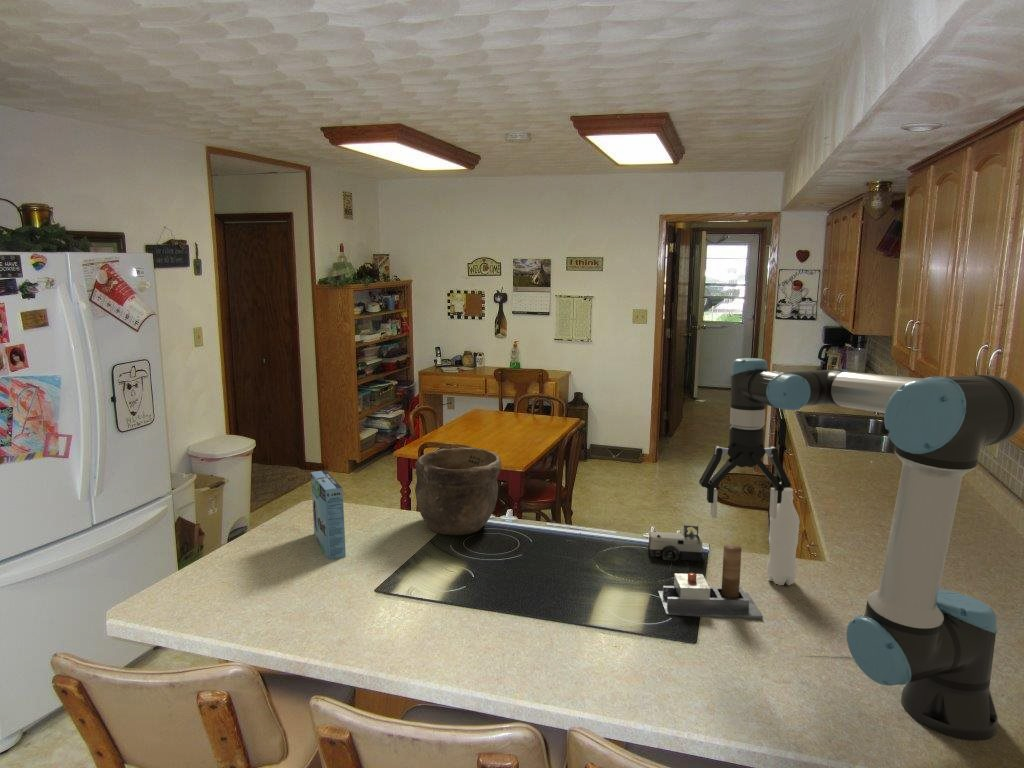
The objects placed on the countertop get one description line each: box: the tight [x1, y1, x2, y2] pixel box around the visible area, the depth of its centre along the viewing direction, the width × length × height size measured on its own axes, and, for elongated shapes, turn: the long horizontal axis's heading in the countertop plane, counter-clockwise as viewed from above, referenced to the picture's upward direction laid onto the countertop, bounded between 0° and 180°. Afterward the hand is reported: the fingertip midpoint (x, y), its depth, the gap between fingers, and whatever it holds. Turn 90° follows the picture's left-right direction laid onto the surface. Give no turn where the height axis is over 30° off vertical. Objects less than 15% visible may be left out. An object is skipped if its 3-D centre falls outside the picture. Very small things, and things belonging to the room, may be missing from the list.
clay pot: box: [414, 447, 502, 536], centre depth 212 cm, size 26×26×25 cm
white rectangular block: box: [673, 572, 711, 600], centre depth 168 cm, size 8×7×4 cm
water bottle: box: [766, 487, 801, 586], centre depth 181 cm, size 7×7×25 cm
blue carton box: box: [310, 470, 347, 560], centre depth 195 cm, size 20×5×23 cm, turn 26°
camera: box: [647, 524, 704, 562], centre depth 196 cm, size 15×8×10 cm, turn 79°
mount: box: [658, 585, 764, 621], centre depth 169 cm, size 12×22×4 cm, turn 88°
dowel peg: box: [721, 543, 742, 598], centre depth 168 cm, size 4×4×14 cm
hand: (743, 516), depth 163 cm, fingers open, 13 cm apart
